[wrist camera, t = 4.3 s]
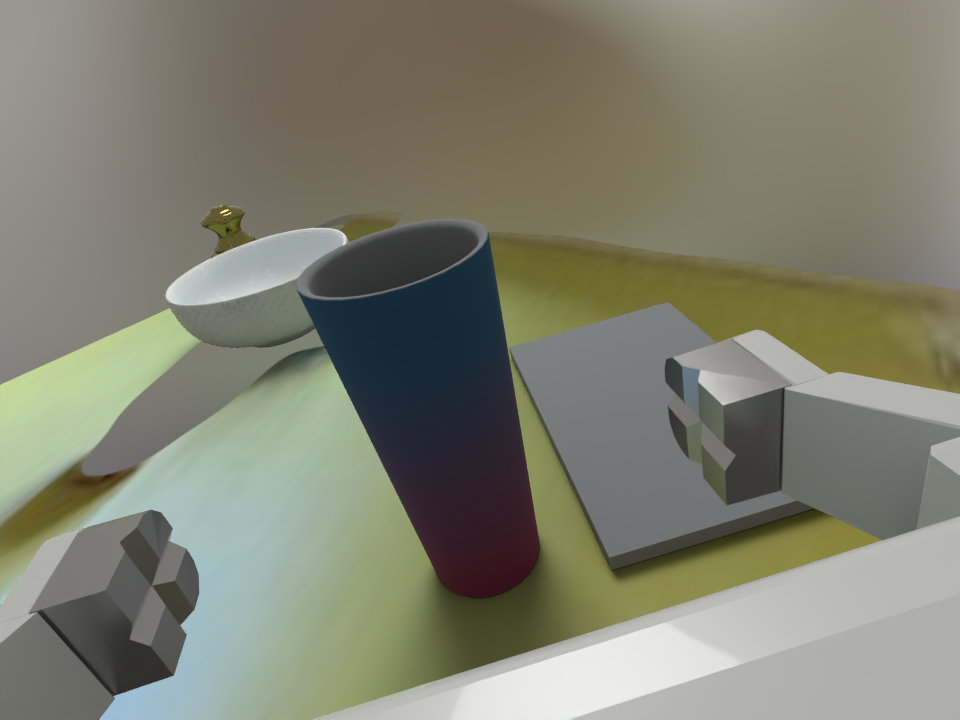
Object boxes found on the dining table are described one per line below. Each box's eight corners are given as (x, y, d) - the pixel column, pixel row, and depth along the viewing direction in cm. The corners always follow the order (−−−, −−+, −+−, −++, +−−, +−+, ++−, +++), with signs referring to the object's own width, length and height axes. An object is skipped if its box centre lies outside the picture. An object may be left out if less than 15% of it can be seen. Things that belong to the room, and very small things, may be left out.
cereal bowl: (161, 379, 54) (121, 310, 50) (262, 297, 67) (236, 238, 64) (319, 370, 48) (286, 292, 45) (395, 282, 61) (374, 217, 58)
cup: (448, 494, 32) (357, 228, 24) (572, 505, 29) (512, 209, 22) (392, 604, 26) (254, 305, 19) (538, 628, 24) (443, 292, 16)
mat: (611, 570, 25) (609, 557, 25) (511, 357, 43) (509, 347, 42) (873, 490, 26) (875, 476, 25) (668, 311, 43) (667, 301, 43)
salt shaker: (225, 306, 67) (184, 222, 62) (222, 289, 73) (184, 211, 69) (288, 283, 69) (253, 200, 64) (279, 268, 75) (247, 191, 71)
